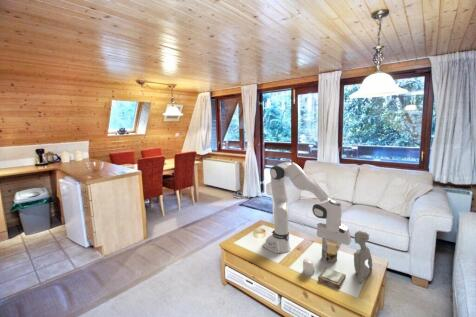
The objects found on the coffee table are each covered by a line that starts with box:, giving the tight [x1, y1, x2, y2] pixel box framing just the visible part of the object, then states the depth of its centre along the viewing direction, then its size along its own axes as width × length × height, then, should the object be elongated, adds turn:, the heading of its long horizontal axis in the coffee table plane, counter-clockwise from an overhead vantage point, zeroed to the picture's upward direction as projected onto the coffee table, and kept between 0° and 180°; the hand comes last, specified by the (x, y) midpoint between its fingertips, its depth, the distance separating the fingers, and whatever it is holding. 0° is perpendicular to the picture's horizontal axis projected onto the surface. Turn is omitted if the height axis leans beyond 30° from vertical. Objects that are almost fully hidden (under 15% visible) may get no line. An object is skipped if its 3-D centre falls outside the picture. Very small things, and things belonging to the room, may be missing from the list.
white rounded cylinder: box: [302, 258, 315, 277], centre depth 163 cm, size 7×7×8 cm
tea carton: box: [327, 240, 340, 255], centre depth 152 cm, size 5×7×8 cm
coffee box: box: [321, 238, 338, 263], centre depth 177 cm, size 9×6×16 cm
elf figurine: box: [353, 230, 373, 285], centre depth 159 cm, size 22×10×30 cm, turn 135°
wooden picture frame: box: [317, 267, 346, 289], centre depth 156 cm, size 13×13×3 cm
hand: (332, 246), depth 152 cm, fingers closed on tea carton, 5 cm apart
